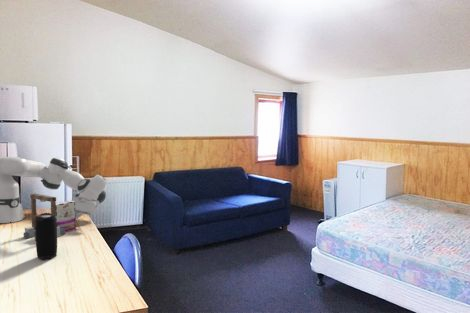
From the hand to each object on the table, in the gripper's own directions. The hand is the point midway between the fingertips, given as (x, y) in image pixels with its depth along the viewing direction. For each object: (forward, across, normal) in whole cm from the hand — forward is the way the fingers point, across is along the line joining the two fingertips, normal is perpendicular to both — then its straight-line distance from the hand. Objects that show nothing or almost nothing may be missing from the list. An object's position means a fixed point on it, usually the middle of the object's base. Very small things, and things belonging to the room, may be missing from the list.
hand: (74, 218), depth 207 cm
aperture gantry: (+17, +1, +9) cm, 19 cm away
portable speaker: (+29, -27, +22) cm, 45 cm away
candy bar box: (+8, +1, 0) cm, 9 cm away
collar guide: (+16, +1, +9) cm, 18 cm away
